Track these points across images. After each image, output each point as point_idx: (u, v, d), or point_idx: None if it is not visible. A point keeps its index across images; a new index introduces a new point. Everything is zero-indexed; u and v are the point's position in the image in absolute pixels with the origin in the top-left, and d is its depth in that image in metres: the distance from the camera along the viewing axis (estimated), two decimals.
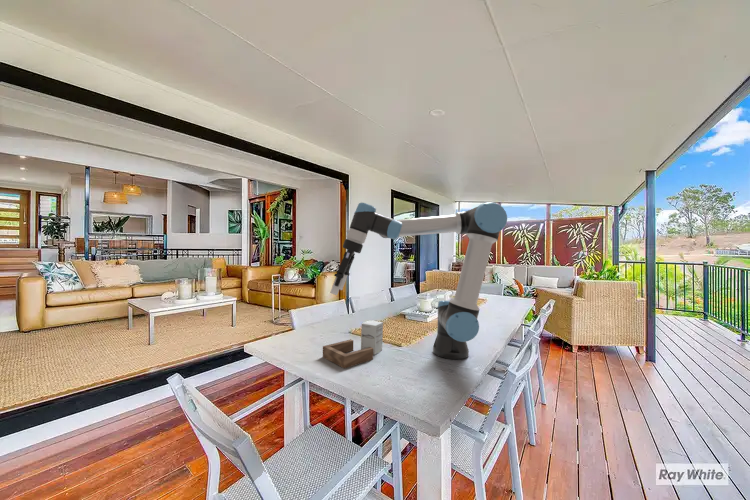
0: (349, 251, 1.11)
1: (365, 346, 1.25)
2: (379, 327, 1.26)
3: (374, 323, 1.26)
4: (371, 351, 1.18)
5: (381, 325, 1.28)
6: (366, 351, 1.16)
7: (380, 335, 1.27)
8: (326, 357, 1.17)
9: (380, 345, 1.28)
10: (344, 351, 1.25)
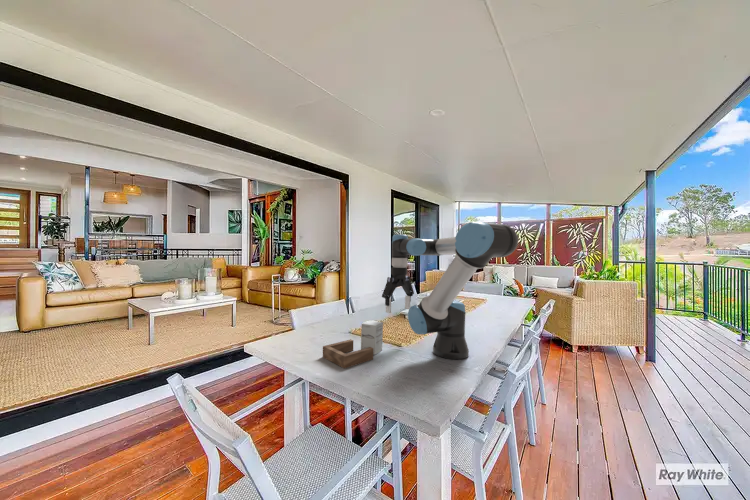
0: (393, 276, 1.37)
1: (365, 346, 1.25)
2: (379, 327, 1.26)
3: (374, 323, 1.26)
4: (371, 351, 1.18)
5: (381, 325, 1.28)
6: (366, 351, 1.16)
7: (380, 335, 1.27)
8: (326, 357, 1.17)
9: (380, 345, 1.28)
10: (344, 351, 1.25)
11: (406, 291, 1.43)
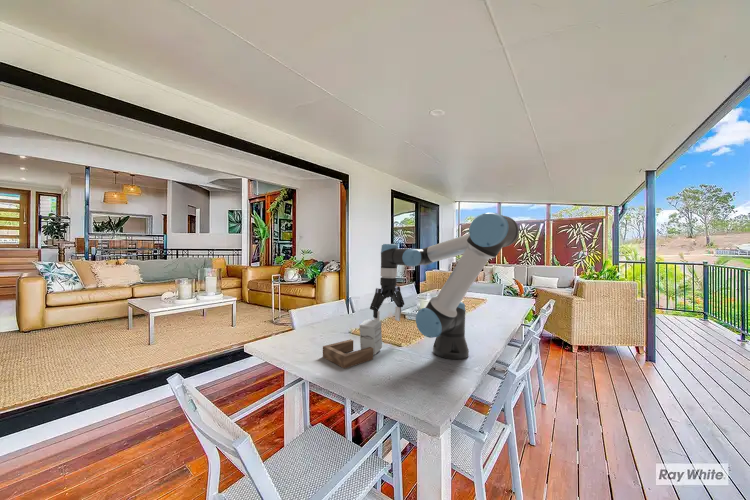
0: (382, 287, 1.32)
1: (365, 346, 1.25)
2: (378, 327, 1.25)
3: (372, 323, 1.25)
4: (371, 351, 1.18)
5: (379, 324, 1.26)
6: (366, 351, 1.16)
7: (379, 334, 1.26)
8: (326, 357, 1.17)
9: (380, 344, 1.27)
10: (344, 351, 1.25)
11: (396, 302, 1.38)
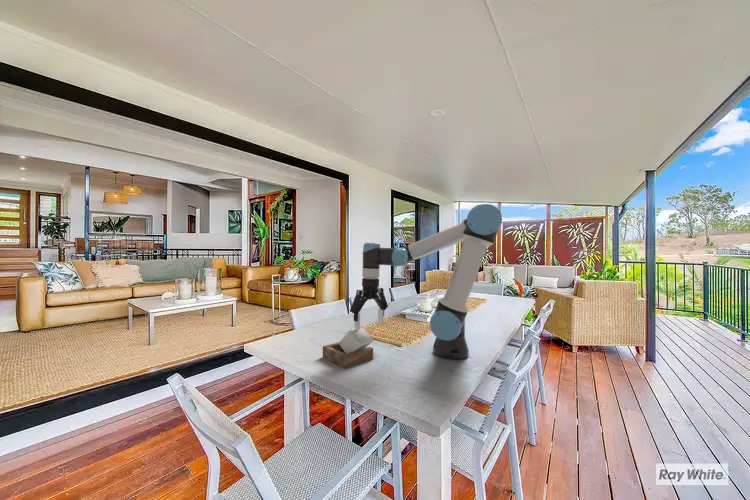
0: (363, 288, 1.25)
1: None
2: (356, 337, 1.17)
3: (352, 343, 1.15)
4: (371, 351, 1.18)
5: (353, 334, 1.17)
6: (366, 351, 1.16)
7: (359, 335, 1.20)
8: (326, 357, 1.17)
9: (363, 332, 1.24)
10: None
11: (379, 304, 1.31)
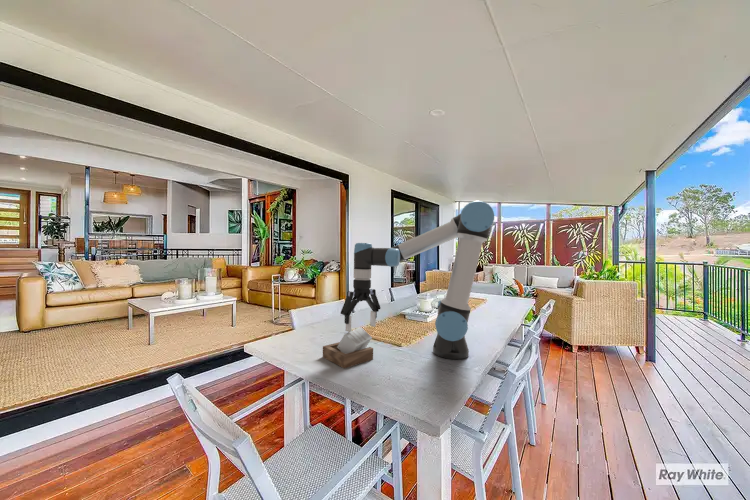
0: (354, 289, 1.21)
1: (364, 347, 1.23)
2: (352, 338, 1.16)
3: (349, 345, 1.15)
4: (371, 351, 1.18)
5: (349, 336, 1.16)
6: (366, 351, 1.16)
7: (356, 335, 1.20)
8: (326, 357, 1.17)
9: (361, 331, 1.24)
10: None
11: (371, 306, 1.27)
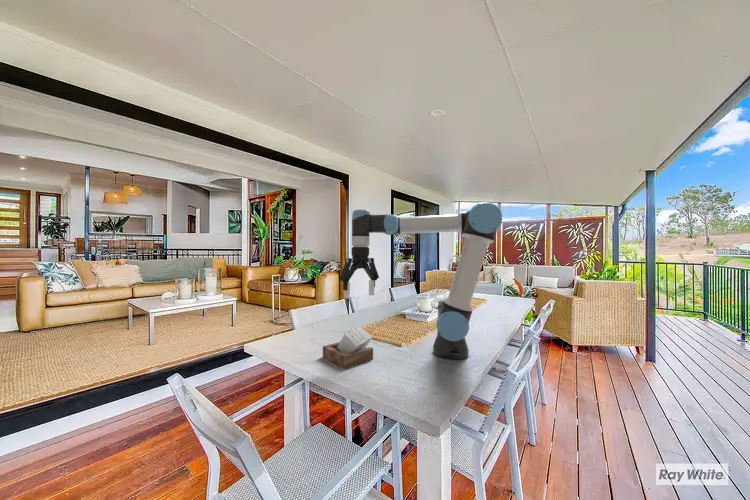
0: (353, 256, 1.20)
1: (364, 347, 1.23)
2: (352, 338, 1.16)
3: (349, 345, 1.15)
4: (371, 351, 1.18)
5: (348, 336, 1.16)
6: (366, 351, 1.16)
7: (356, 335, 1.20)
8: (326, 357, 1.17)
9: (361, 331, 1.24)
10: None
11: (369, 275, 1.27)
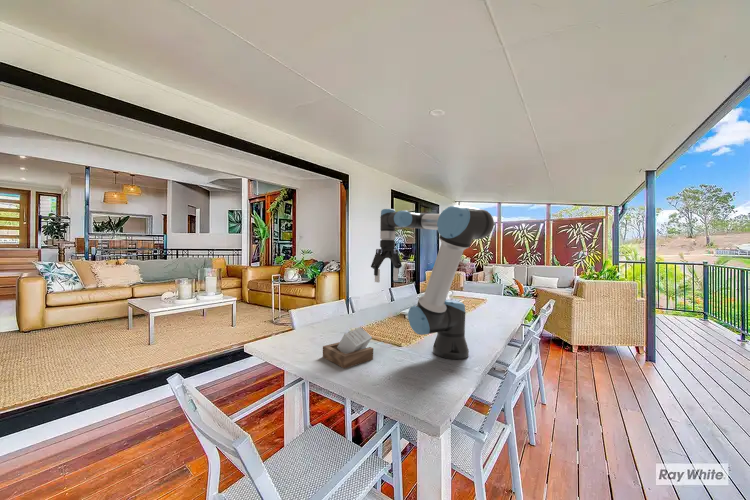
0: (382, 248, 1.45)
1: (364, 347, 1.23)
2: (352, 338, 1.16)
3: (349, 345, 1.15)
4: (371, 351, 1.18)
5: (348, 336, 1.16)
6: (366, 351, 1.16)
7: (356, 335, 1.20)
8: (326, 357, 1.17)
9: (361, 331, 1.24)
10: None
11: (394, 263, 1.51)
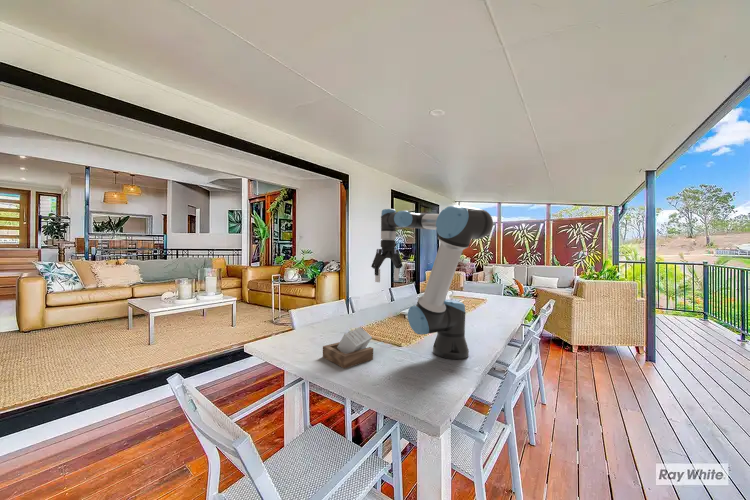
0: (382, 248, 1.46)
1: (364, 347, 1.23)
2: (352, 338, 1.16)
3: (349, 345, 1.15)
4: (371, 351, 1.18)
5: (348, 336, 1.16)
6: (366, 351, 1.16)
7: (356, 335, 1.20)
8: (326, 357, 1.17)
9: (361, 331, 1.24)
10: None
11: (395, 263, 1.52)
